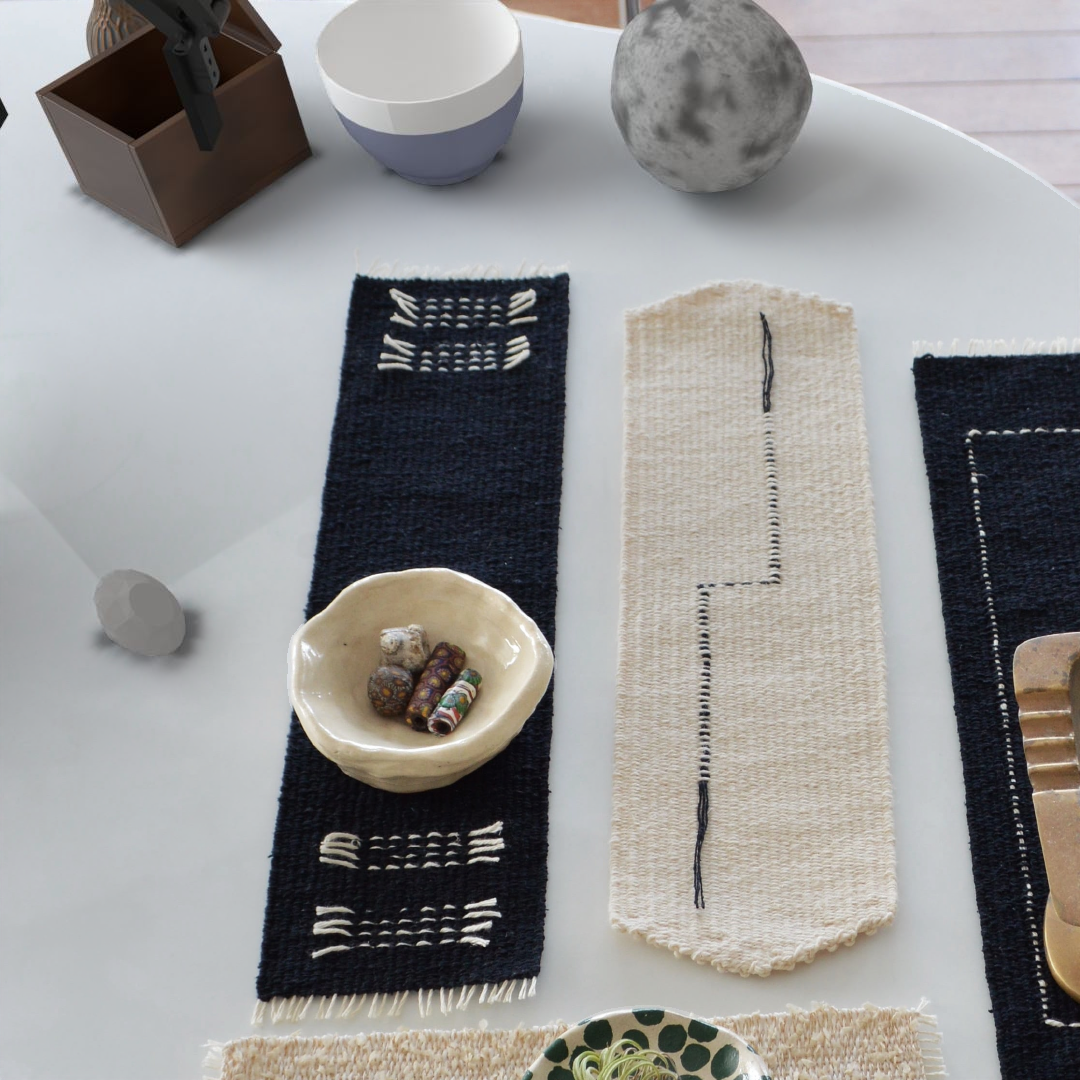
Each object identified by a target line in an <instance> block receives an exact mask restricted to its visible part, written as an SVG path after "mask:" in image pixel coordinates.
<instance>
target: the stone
mask: <svg viewBox="0 0 1080 1080" xmlns="http://www.w3.org/2000/svg"><path fill="white" fill-rule="evenodd" d="M610 81H611V83H610V104H611V105H610V106H611V110H612V114H613V117H614V120H615V122H616V125H617V127H618V130H619V132H620V135H621V137H622V139H623V141H624V143H625V145H626V147H627V149H628V150H629V152H630V154H631V156H633V158H634V159H635V161H636V162H637V164H638V165H639V166H640V167H641V168H642V169H643V170H644V171H645V172H647V173H648V174H649V175H650V176H652V177H653V179H655V180H656V181H658V182H660V183H661V184H663V185H665V186H666V187H668V188H670V189H672V190H676V191H681V192H687V193H697V194H705V193H707V194H708V193H716V192H717V193H718V192H723V191H729V190H734V189H738V188H740V187H743V186H746V185H747V184H750V183H752V182H755V181H756V180H757V181H758V179H760V178H762V177H763V176H765V175H766V174H768V173H769V172H770V171H771V170H773V169H774V168H775V167H777V166H778V165H779V164H780V162H781V161H782V160H783V159H784V158H785V157H786V156H787V154H788V153H789V152H790V150H791V149H792V147H793V146H794V144H795V142H796V141H797V138H798V137H799V135H800V134H801V131H802V129H803V126H804V124H805V122H806V120H807V117H808V114H809V111H810V108H811V106H812V101H813V93H814V92H813V91H814V88H813V82H812V77H811V74H810V72H809V69H808V66H807V64H806V60H805V59H804V57H803V54H802V51H801V50H800V49H799V47H798V45H797V44H796V42H795V41H794V39H793V38H792V37H791V36H790V34H789V33H788V31H786V29H785V28H784V27H783V26H782V25H781V24H780V23H779V22H778V21H777V20H776V18H775V17H773V15H771V14H770V13H769V12H768V11H766V10H765V8H763V7H762V6H760V5H759V4H758V3H757V2H755V1H754V0H655V1H653V2H652V3H651V4H649V5H648V6H647V7H645V8H643V9H642V10H641V11H640V12H639V13H638V14H637V15H636V16H635V17H634V18H633V19H631V20H630V22H628V24H627V26H625V28H624V29H623V31H622V33H621V35H620V36H619V39H618V42H617V45H616V49H615V54H614V59H613V63H612V70H611V80H610Z"/></svg>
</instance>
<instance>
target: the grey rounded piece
mask: <svg viewBox="0 0 1080 1080" xmlns="http://www.w3.org/2000/svg"><path fill="white" fill-rule="evenodd" d="M93 602H94V605H95V607H96V613H97V618H98V620H99V622H100V624H101V626H102V627H103V630H104V632H105V633H106V635H107V637H108V639H109V640H111V641H112V642H114V643H116V644H118V645H119V646H121V647H122V648H124V649H127V650H130V651H132V652H134V653H137V654H139V655H141V656H145V657H147V656H149V657H150V656H151V657H152V656H153V657H159V658H160V657H163V656H166V655H169V654H172V653H175V651H176V650H177V649H178V648H180V647H181V645H182V642H183V641H184V638H185V636H186V633H187V629H186V616H185V613H184V611H183V608H182V606H181V604H180V602H179V600H178V599H177V597H176V596H175V595H174V593H172V591H171V590H169V588H168V587H167V586H166V585H165V584H163V583H162V582H161V581H159V579H156V578H155V577H153V576H152V575H150V574H147V573H145V572H143V571H142V572H141V571H138V570H136V569H132V568H131V569H130V568H129V569H114V570H113V571H110V572H108V573H107V574H105V575H104V576H102V577H101V578H100V580H99V581H98V583H97V584H96V586H95V593H94V597H93Z"/></svg>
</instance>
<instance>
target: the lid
mask: <svg viewBox="0 0 1080 1080" xmlns="http://www.w3.org/2000/svg"><path fill="white" fill-rule="evenodd" d="M228 1H229V2H230V5H231V9H230V12H229V14H228V16H227V19H226V21H225V23H224V26H226V27H227V28H229V29H231V30H233V31H235V32H237V33H239V34H241V35H243V36H245V37H247V38H249V39H251V40H253V41H255V42H257V43H259V44H261V45H263V46H265V47H267V48H269V49H270V50H272V51H274V52H276V53H278V52H279V50H280V49H281V48H282V47H283V44H282V43H281V41H280V40H279V38H278V37H277V35H276V34H275V33H274V32H273V30H272V29H271V28H270V27H269V25H268V24H267V23H266V22H265V21H264V19H263V18H262V16H261V15H260V14H259V13H258V11H257V10H256V8H255V7H254V6H253V4H252V3H251V2H250V0H228Z"/></svg>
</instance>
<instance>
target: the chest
mask: <svg viewBox="0 0 1080 1080" xmlns="http://www.w3.org/2000/svg"><path fill="white" fill-rule="evenodd" d="M207 38H208V41H209V44H210V47H211V49H212V52H213V55H214V58H215V61H216V64H217V67H218V70H219V81H218V83H217V86H216V88H215V90H214V92H213V95H214V98H215V101H216V104H217V106H218V109H219V112H220V115H221V118H222V121H223V123H224V125H223V127H222V130H221V132H220V134H219V137H218V139H217V141H216V144H215V146H214V148H213V151H200V149H199V147H198V144H197V141H196V139H195V136H194V133H193V131H192V128H191V125H190V123H189V120H188V117H187V115H186V112H185V109H184V107H183V104H182V101H181V99H180V96H179V93H178V90H177V88H176V85H175V82H174V80H173V77H172V74H171V72H170V69H169V66H168V64H167V61H166V58H165V56H164V53H163V50H162V49H163V47H164V45H165V43H166V41H167V39H168V37H167V36H166V35H165V34H163V33H162V32H161V31H160V30H159V29H158V28H156V27H155V26H154V25H153V24H152V23H150V24H148V25H146V26H145V27H143V28H141V29H140V30H138V31H136V32H135V33H133V34H131V35H130V36H128V37H126V38H125V39H123V40H121V41H120V42H118V43H116V44H115V45H113V46H111V47H110V48H108V49H106V50H105V51H103V52H101V53H100V54H98V55H96V56H95V57H93V58H91V59H90V58H89V59H88V60H86V61H85V62H83V63H81V64H80V65H78V66H77V67H75V68H73V69H71V70H70V71H68V72H66V73H65V74H63V75H61V76H59V77H58V78H56V79H55V80H53V81H51V82H49V83H48V84H46V85H44V86H43V87H41V88H40V89H38V90H36V91H35V92H34V94H35V95H36V98H37V100H38V102H39V104H40V107H41V108H42V110H43V113H44V115H45V117H46V119H47V121H48V123H49V125H50V127H51V130H52V131H53V133H54V135H55V137H56V140H57V142H58V144H59V146H60V148H61V150H62V152H63V154H64V157H65V158H66V160H67V163H68V165H69V167H70V170H71V171H72V173H73V176H74V178H75V180H76V181H77V183H78V186H79V188H80V190H81V192H82V193H84V194H86V195H87V196H89V197H91V198H92V199H93V200H96V201H97V202H98V203H101V204H102V205H104V206H106V207H107V208H109V209H111V210H113V211H114V212H115V213H118V214H119V215H121V216H122V217H124V218H126V219H127V220H129V221H130V222H133V223H134V224H136V225H137V226H139V227H142V229H144V230H146V231H148V232H150V233H152V235H155V236H156V237H158V238H160V239H161V240H163V241H165V242H166V243H168V244H169V245H172V246H173V247H174V248H180V247H181V246H183V245H184V244H185V243H187V242H188V241H190V240H191V239H192V238H195V236H197V235H198V234H200V233H201V232H203V231H204V230H206V229H208V228H209V227H210V226H211V225H213V224H214V223H216V222H217V221H218V220H220V219H222V218H223V217H225V216H226V215H227V214H229V213H231V212H232V211H233V210H235V209H236V208H238V207H239V206H241V205H242V204H243V203H245V202H246V201H248V200H249V199H251V198H252V197H254V196H255V195H257V194H258V193H260V192H261V191H262V190H265V188H267V187H268V186H270V185H271V184H272V183H274V182H276V181H277V180H279V178H281V177H283V176H284V175H285V174H287V173H288V172H290V171H291V170H293V169H294V168H296V167H297V166H299V165H300V164H302V163H303V162H304V161H306V160H307V159H309V158H310V157H312V156H313V151H312V148H311V146H310V143H309V140H308V135H307V133H306V130H305V127H304V122H303V120H302V116H301V113H300V111H299V106H298V104H297V101H296V98H295V95H294V92H293V88H292V84H291V82H290V79H289V75H288V72H287V69H286V66H285V64H284V63H285V62H284V59H283V56H282V54H280V53H278V52H274V51H272V50H270V49H269V48H267V47H265V46H263V45H261V44H259V43H257V42H255V41H253V40H251V39H249V38H247V37H245V36H243V35H241V34H239V33H237V32H235V31H233V30H231V29H229V28H227V27H226V26H224V25H223V27H222V29H221V32H220V34H219V35H218V36H217V37H216V38H209V37H207Z"/></svg>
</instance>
